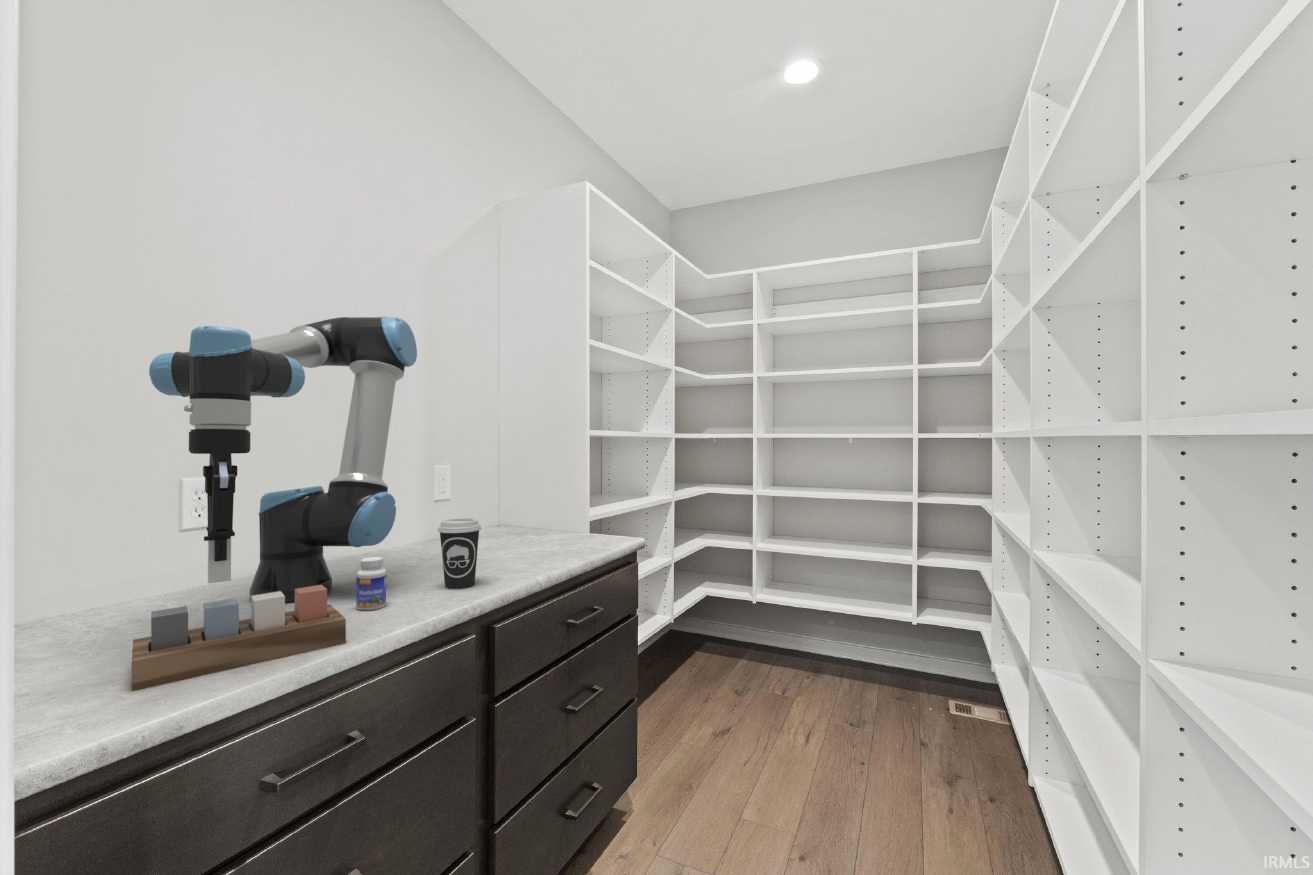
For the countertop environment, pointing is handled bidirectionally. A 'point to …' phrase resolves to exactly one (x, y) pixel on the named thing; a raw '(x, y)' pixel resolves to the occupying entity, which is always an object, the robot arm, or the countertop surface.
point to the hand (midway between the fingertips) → (219, 580)
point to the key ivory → (267, 611)
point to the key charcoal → (169, 628)
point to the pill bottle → (371, 584)
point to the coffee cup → (459, 551)
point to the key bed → (233, 649)
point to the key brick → (310, 603)
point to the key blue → (221, 619)
